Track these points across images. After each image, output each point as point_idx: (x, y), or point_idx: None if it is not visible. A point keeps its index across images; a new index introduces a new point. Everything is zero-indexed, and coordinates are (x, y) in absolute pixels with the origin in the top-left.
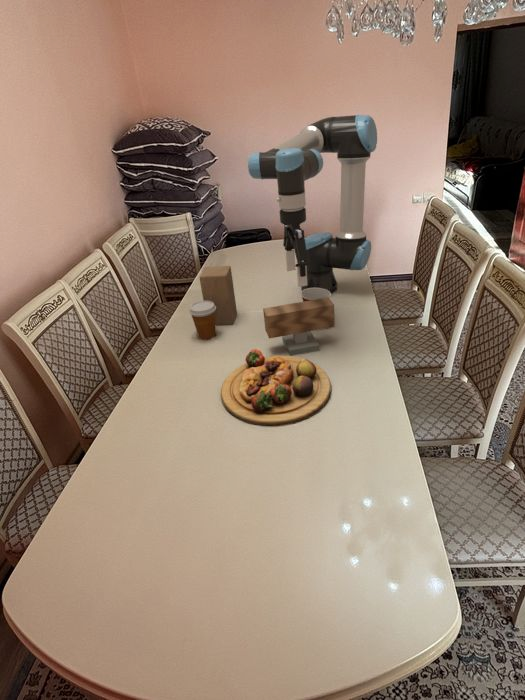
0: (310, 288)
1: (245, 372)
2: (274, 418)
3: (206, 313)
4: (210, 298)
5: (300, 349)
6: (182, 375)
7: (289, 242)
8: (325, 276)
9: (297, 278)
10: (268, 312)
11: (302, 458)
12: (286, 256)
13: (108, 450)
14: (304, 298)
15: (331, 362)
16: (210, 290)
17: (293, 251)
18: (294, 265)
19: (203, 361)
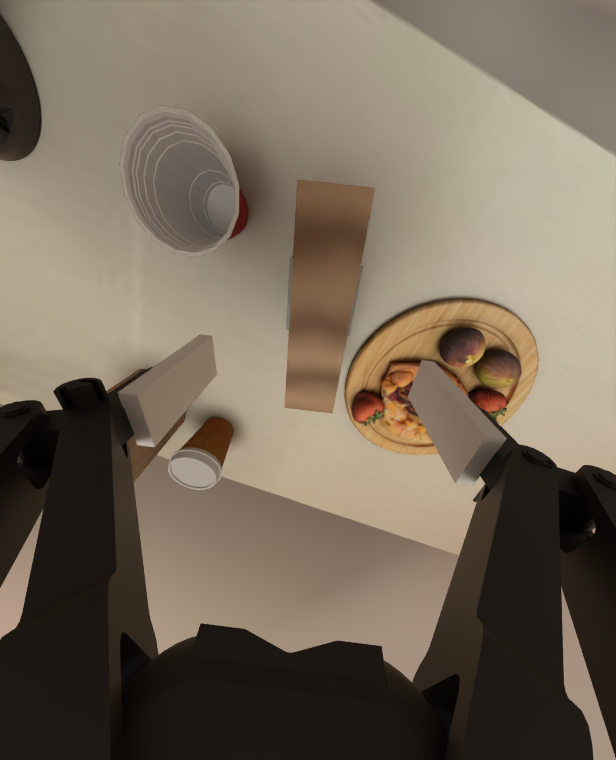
0: (128, 190)
1: (402, 435)
2: (505, 416)
3: (218, 468)
4: (152, 452)
5: (353, 312)
6: (320, 471)
7: (134, 524)
8: None
9: (421, 420)
10: (313, 404)
11: (590, 406)
12: (174, 422)
13: (413, 531)
14: (211, 251)
15: (421, 261)
16: (139, 465)
17: (144, 398)
18: (200, 350)
19: (297, 447)
